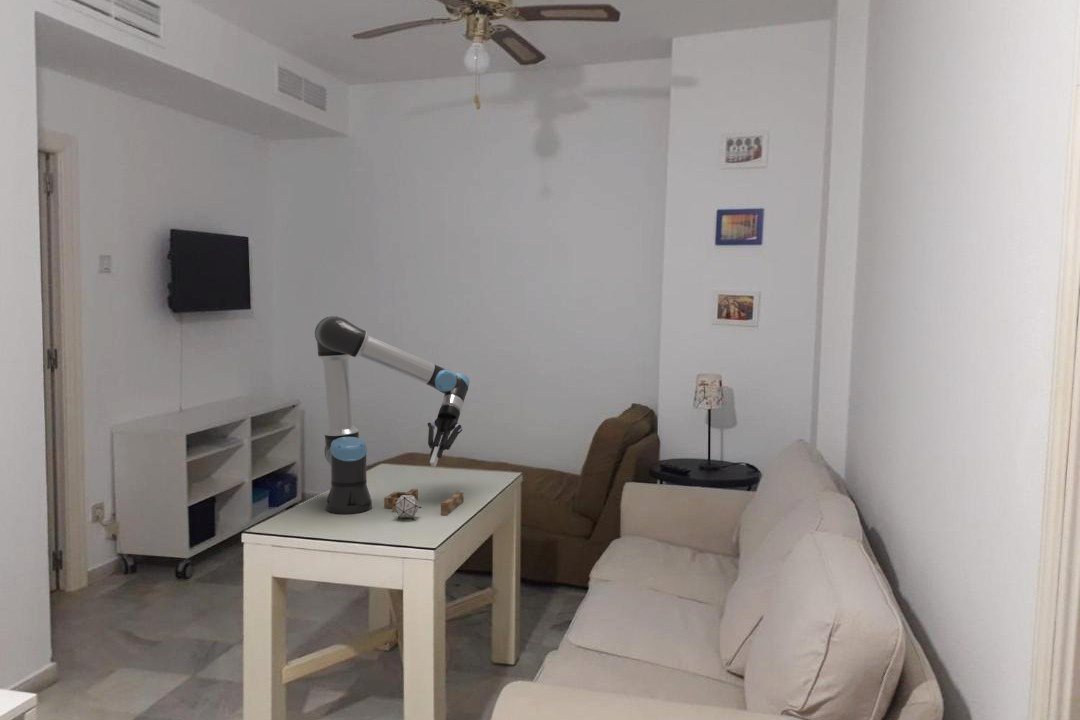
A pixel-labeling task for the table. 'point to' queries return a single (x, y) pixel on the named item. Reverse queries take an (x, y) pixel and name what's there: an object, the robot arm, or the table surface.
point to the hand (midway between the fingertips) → (432, 464)
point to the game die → (406, 506)
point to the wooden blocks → (393, 498)
